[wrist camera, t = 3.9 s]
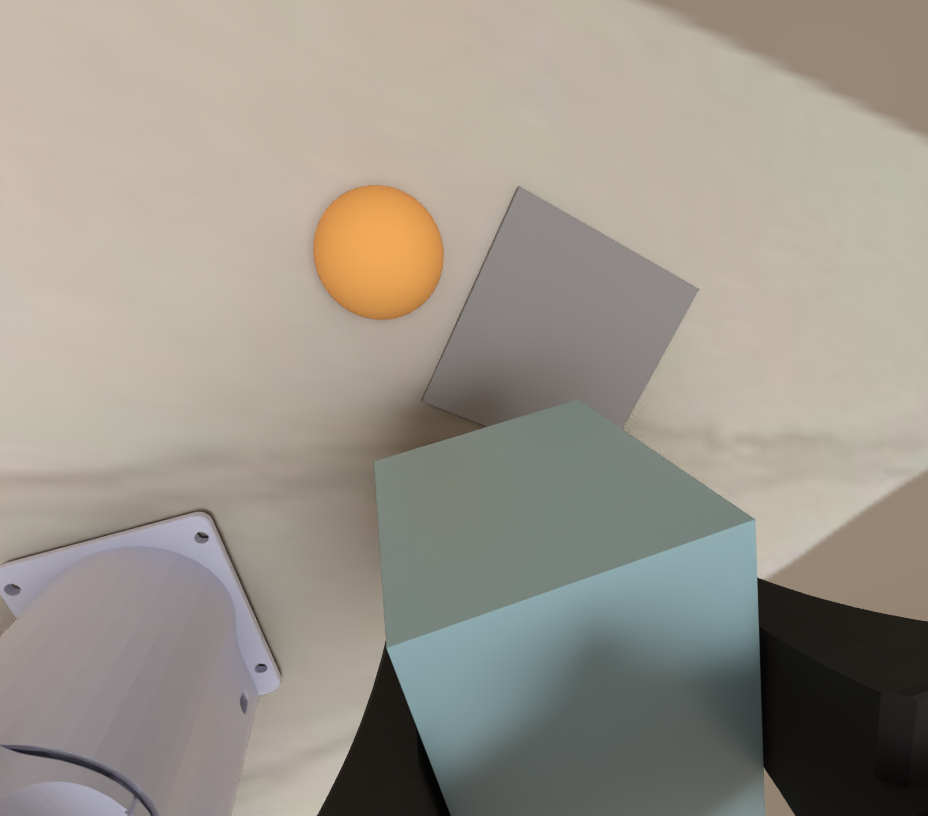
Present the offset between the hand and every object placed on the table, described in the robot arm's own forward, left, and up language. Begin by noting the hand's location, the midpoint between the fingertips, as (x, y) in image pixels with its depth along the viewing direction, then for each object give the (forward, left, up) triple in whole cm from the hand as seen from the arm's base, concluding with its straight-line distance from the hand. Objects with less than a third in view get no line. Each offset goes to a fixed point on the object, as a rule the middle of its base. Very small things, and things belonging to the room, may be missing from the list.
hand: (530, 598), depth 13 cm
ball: (+9, +1, -7) cm, 12 cm away
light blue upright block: (0, 0, -2) cm, 2 cm away
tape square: (+4, -5, -9) cm, 11 cm away
